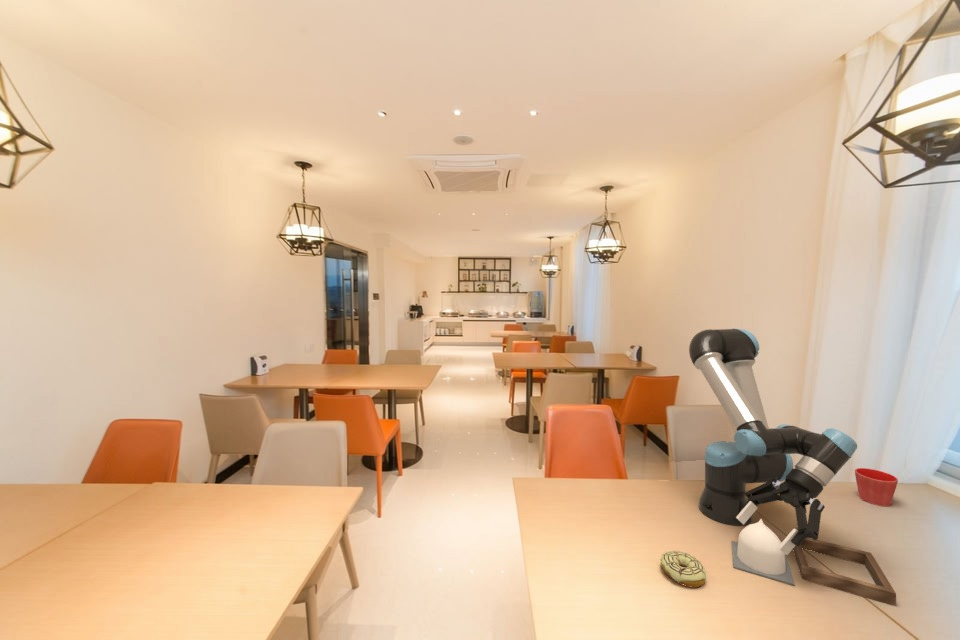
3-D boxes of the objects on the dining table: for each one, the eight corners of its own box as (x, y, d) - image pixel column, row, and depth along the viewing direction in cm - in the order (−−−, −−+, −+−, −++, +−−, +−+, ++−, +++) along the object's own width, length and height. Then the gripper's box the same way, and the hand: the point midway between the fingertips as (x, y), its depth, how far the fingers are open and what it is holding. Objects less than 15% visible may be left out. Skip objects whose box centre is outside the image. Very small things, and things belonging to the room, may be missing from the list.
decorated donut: (676, 591, 95) (676, 577, 95) (653, 562, 106) (653, 549, 105) (715, 588, 96) (715, 574, 95) (688, 559, 106) (688, 546, 106)
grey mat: (733, 567, 103) (733, 566, 103) (731, 542, 114) (731, 540, 114) (795, 586, 96) (795, 584, 96) (786, 556, 107) (786, 555, 107)
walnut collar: (802, 579, 98) (802, 568, 98) (791, 543, 112) (791, 533, 112) (895, 605, 89) (896, 593, 89) (870, 563, 103) (870, 552, 103)
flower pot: (907, 508, 130) (908, 481, 130) (874, 509, 130) (875, 481, 130) (875, 493, 141) (875, 467, 140) (845, 493, 141) (846, 468, 140)
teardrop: (779, 553, 107) (779, 512, 107) (792, 579, 97) (793, 534, 97) (733, 544, 112) (733, 504, 111) (741, 568, 102) (741, 524, 101)
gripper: (868, 510, 93) (813, 575, 92) (776, 466, 118) (732, 518, 117) (849, 491, 92) (794, 557, 91) (761, 451, 117) (717, 502, 116)
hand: (759, 535), depth 104 cm, fingers open, 13 cm apart
